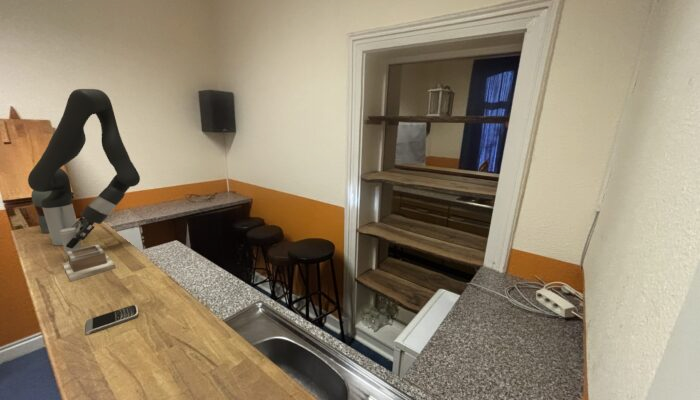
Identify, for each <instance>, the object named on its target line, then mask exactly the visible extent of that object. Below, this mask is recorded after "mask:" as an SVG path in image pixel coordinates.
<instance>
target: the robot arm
mask: <svg viewBox="0 0 700 400" xmlns="http://www.w3.org/2000/svg"><path fill="white" fill-rule="evenodd" d="M92 115H96V117H97V119H98V121H99V123H100V128H101V145H102V149H103V153H104V154H105V156H106V157H107V159H108V161H109V163H110V165H111V166H112V167H113V169H114V171H115V173H116V174H115V176H114V177H112V179H111V181H110V182H109V184H108V185H107V186H106V187H105V188H104V189H103V190H102V191H101V192H100V193H99V194H98V195H97V196H96V197H95V198H94V199H93V200H91V202H90V203H89V204H88V205H86V206H85V208H84V209H83V210H81V212H80V216H81V217H79V219H77V217H76V212H75V209H74V205H73V202H72V200H73V193H72V192H73V191H72V186H71V181H70V177H69V175H68V173H67V172H66V171H65V170H64V169H62V167H63V166H65V165H66V164H68V163H69V162H71V161H72V160H73V159H75V158H76V157H78V155H79V154H81V151H82V150H83V147H84V146H85V145H86V144H85V143H86V141H87V140H86V139H87V137H86V134H85V126H86V123H87V122H88V119H90V117H91V116H92ZM140 181H141V177H140V174H139V172H138V171H137V167H135V165H134V163H133V162H132V160H131V158H130V155H129V153H128V150H127V149H126V146H125V144H124V142H123V140H122V136H121V134H120V131H119V127H118V123H117V119H116V115H115V112H114V108H113V104H112V101H111V100H110V97H109V96H108V94H107V93H106V92H105V91H103V90H100V89H97V88H78V89H74V90H72V91H71V93H70V94H69V97H68V99H67V101H66V105H65V108H64V111H63V114H62V116H61V118H60V121H59V123H58V125H57V127H56V129H55V131H54V132H53V134H52V136H51V138H50V140H49V142H48V144H47V146H46V148H45V150H44V152H43V153H42V155H41V157H40V159H39V160H38V161H37V163H36V165H34V167H33V168H32V170H30V172H29V175H28V178H27V182H28V183H27V184H28V186H29V188H30V189H32V191H33V190H34V191H38V192H46V191H51V194H50V195H49V196H48V197H47V198H45V199H43V200H42V201H41V205H42V208H43V212H44V215H45V219H46V222H47V226H48V229H49V233H48V234H49V235H50V240H51V243H52V245H53V246H59V247H60V246H63V243H62V240H61V236H60V230H62V229H66V228H76V231H75V233H76V234H75V235H74V237H73V238H72V239H71V240H70V241H69V242H68V244H67V245H66V247H68V248H71V249H72V248H74V246H75V245H76V244H77V243H78V242H79V241H80V242H81V241H84V240H85V239H86V238H87V237H88V236H89V235H90V233H91V232H92V231H93V230H94V229H95V226H94V224H95V223H96V224H97V225H98V224H99V225H100V224H102V223H103V222H104V221H105V220H106V219H107V218H108V216H110V214H112V212H113V211H114V210H115V208H116V206H118V204H119V203H120V202H121V201H122V200H123V198H124V197H125V194H126V193H127V192H128V190H129V189H130V188H131V187H135V186H137V185H139V183H140Z"/></svg>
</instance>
